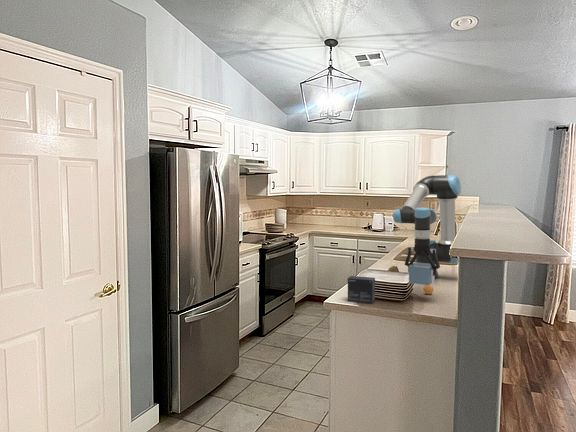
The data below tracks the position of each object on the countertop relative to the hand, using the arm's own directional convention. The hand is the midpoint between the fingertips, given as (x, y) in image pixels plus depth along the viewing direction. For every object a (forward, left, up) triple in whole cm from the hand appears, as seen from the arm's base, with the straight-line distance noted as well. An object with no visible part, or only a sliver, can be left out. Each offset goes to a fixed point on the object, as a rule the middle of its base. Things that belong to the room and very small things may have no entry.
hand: (421, 280), depth 217 cm
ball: (-11, 0, -7) cm, 14 cm away
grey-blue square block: (0, 0, -1) cm, 1 cm away
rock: (-30, -28, -10) cm, 42 cm away
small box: (+19, -25, -10) cm, 33 cm away
